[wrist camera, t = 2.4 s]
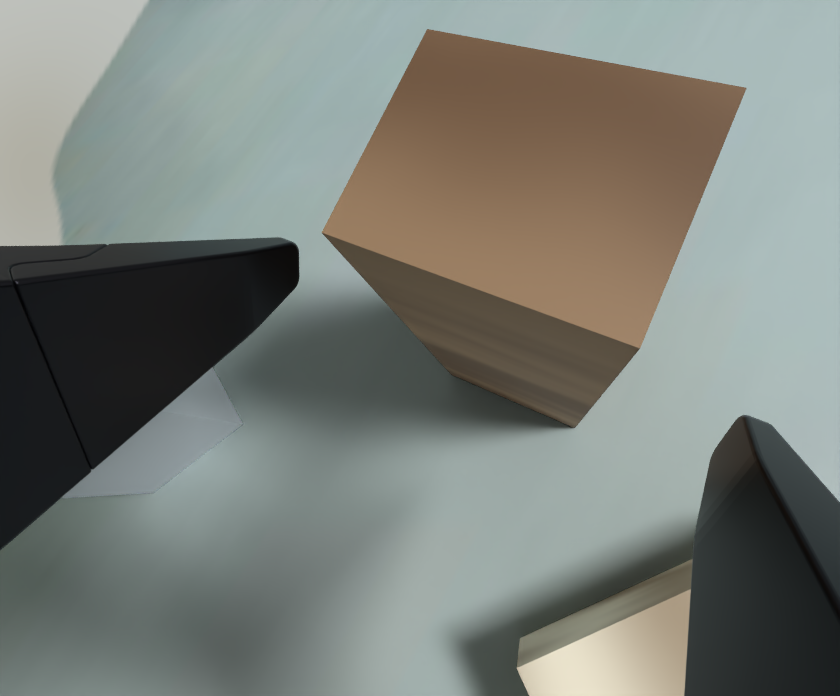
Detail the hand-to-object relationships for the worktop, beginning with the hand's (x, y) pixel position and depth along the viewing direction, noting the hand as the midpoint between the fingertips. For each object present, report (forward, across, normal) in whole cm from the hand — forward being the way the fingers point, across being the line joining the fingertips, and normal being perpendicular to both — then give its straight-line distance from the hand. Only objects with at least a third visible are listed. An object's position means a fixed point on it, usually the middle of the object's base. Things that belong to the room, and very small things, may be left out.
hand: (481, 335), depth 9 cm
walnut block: (+8, 0, +5) cm, 10 cm away
